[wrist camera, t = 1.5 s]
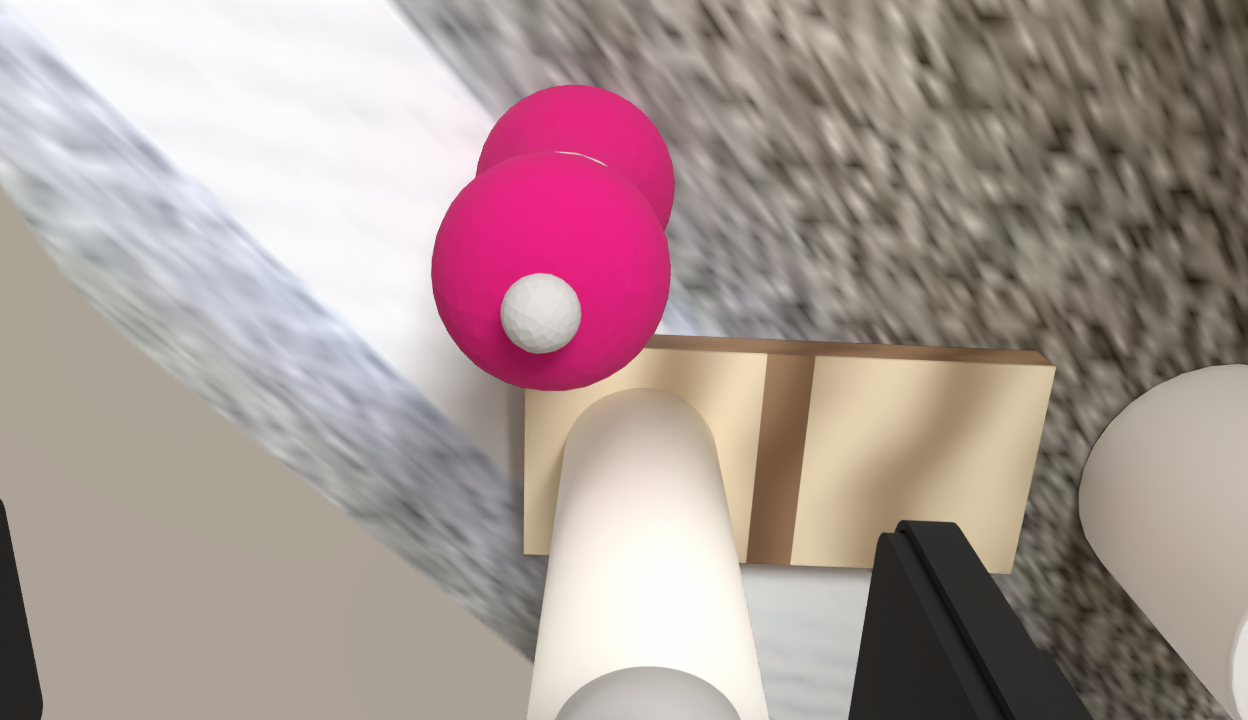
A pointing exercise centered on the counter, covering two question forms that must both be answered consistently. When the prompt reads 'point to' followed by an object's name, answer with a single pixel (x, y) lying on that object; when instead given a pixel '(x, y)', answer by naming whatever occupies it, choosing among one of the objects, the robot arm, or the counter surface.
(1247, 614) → the cup
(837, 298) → the counter surface
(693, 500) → the salt mill
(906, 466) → the wooden divided tray
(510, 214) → the pepper mill
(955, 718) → the robot arm
